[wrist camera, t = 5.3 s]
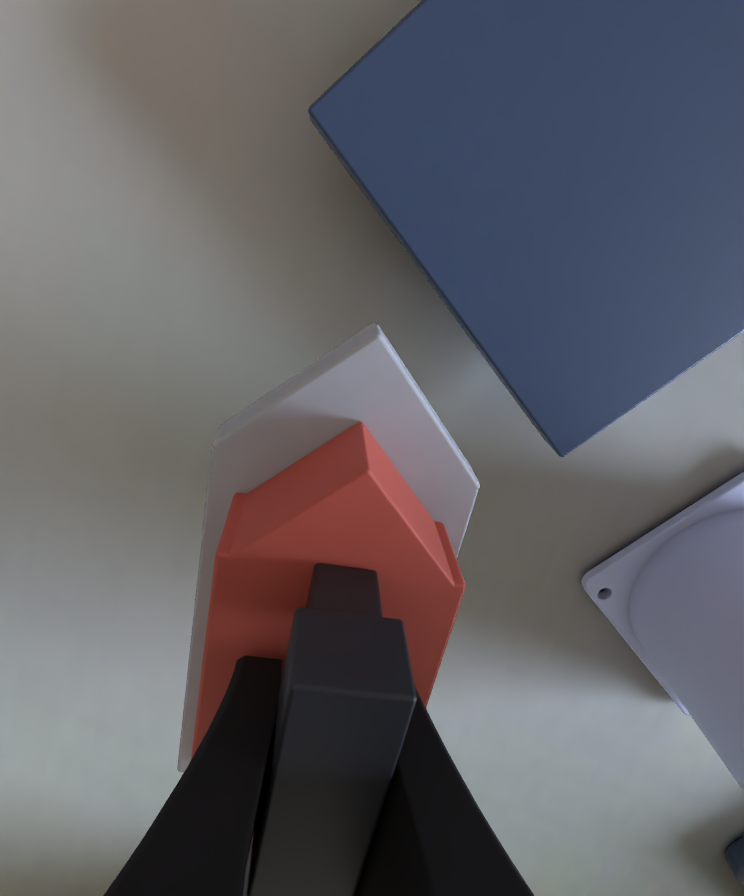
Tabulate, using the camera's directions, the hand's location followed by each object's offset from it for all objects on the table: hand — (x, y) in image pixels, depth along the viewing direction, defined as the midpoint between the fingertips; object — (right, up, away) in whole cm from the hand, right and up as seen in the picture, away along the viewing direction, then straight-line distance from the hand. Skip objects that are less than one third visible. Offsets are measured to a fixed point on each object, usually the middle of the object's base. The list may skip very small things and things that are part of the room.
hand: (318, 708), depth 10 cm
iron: (0, +1, +3) cm, 3 cm away
